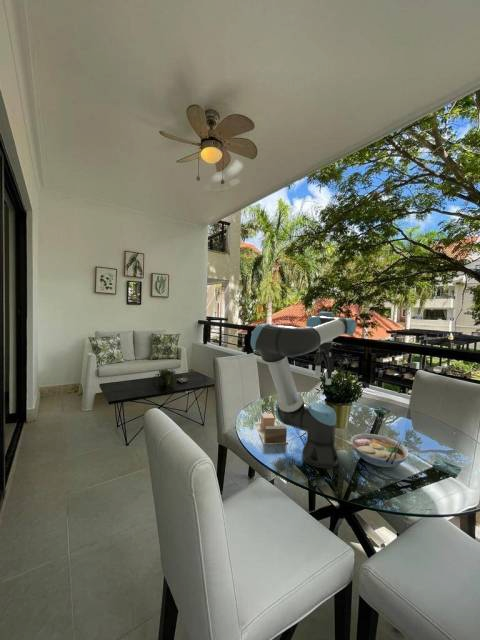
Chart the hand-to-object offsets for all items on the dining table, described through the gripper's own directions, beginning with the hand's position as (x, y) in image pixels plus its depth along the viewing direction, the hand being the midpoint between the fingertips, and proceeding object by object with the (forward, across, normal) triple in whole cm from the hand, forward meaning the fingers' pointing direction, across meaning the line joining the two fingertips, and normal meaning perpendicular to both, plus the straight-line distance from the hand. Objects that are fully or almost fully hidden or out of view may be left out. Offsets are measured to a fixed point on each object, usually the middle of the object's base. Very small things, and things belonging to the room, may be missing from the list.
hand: (322, 380), depth 155 cm
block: (+26, -4, -28) cm, 38 cm away
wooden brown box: (+27, +2, -28) cm, 39 cm away
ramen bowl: (+27, +32, +13) cm, 44 cm away
